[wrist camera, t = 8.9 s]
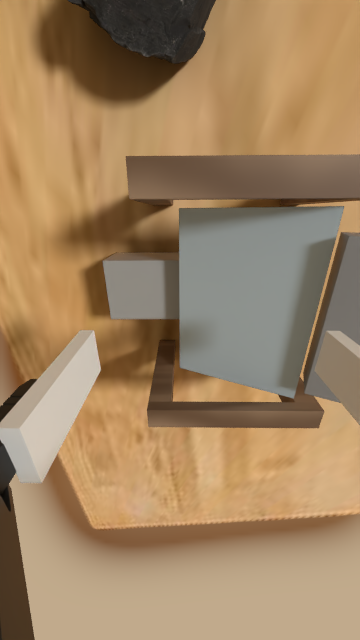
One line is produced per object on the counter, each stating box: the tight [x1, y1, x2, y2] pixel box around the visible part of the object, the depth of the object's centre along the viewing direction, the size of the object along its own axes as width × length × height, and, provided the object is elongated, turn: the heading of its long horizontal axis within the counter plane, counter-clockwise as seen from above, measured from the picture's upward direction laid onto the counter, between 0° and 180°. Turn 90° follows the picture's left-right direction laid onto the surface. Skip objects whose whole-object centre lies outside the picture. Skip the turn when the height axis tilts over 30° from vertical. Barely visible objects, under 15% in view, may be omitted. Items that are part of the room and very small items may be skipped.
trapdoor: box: [179, 206, 360, 403], centre depth 19 cm, size 15×16×3 cm
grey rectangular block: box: [103, 252, 180, 319], centre depth 25 cm, size 6×5×8 cm
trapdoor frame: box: [126, 155, 360, 428], centre depth 22 cm, size 20×15×12 cm
